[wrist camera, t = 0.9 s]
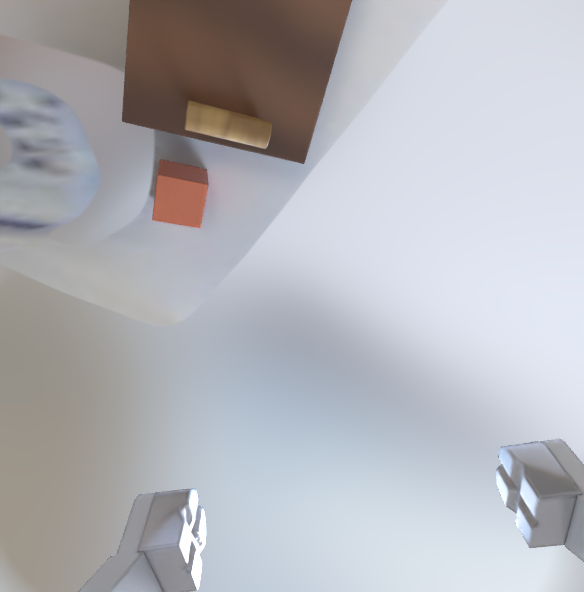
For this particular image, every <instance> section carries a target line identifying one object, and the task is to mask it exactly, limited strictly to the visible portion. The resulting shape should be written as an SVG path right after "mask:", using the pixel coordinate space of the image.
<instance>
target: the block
mask: <svg viewBox="0 0 584 592" xmlns="http://www.w3.org/2000/svg"><path fill="white" fill-rule="evenodd" d="M207 190H208V178H207V169H203V168H199V167H194V166H189V165H184V164H180V163H175V162H170V161H165V160H160V163H159V169H158V175H157V183H156V192H155V201H154V209H153V218H152V220H154V221H160V222H166V223H172V224H178V225H184V226H190V227H196V228H201V223H202V218H203V212H204V206H205V201H206V195H207Z"/></svg>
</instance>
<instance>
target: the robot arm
mask: <svg viewBox="0 0 584 592" xmlns="http://www.w3.org/2000/svg"><path fill="white" fill-rule="evenodd" d="M498 458H499V459H500V461H501V463H502V464H501V465H500V466H499V467H498V468H497V471H496V480H497V485H498V490H499V492H500V495H501V497H502V499H503V501H504V503H505V505H506V507H508V508H509V509H511V510H512V511H514V512H515V513H517V515H516V522H515V523H516V525H517V526H518V528H519V530H520V532H521V534H522V535H523V537H524V539H525V541H526V542H527V544H528V546H529V548H536V547H547V546H557V545H565V547H566V548H567V549H568V550H570V551H571V552H572V553H573V554H575V555H576V556H577V557H578V558H579V559H581V560H582V561H583V562H584V464H583V463H582V462H581V461H580V460H579V458H578V457H577V456H576V455H575V454H574V452H573V451H572V450H571V449H570V448H569V446H568V445H567V444H566V443H565V442H564V441H563V440H561V439H555V440H548V441H540V442H538V441H537V442H530V443H524V444H517V445H510V446H503V447H501V448H500V449H499V454H498ZM198 498H199V496H198V494H197V491H196V489H183V490H174V491H165V492H156V493H148V494H140V495H138V496H137V498H136V499H135V501H134V503H133V506H132V509H131V512H130V515H129V518H128V521H127V524H126V527H125V530H124V533H123V536H122V539H121V542H120V545H119V548H118V551H117V554H116V555H115V556H110V557H109V558H108V559H107V561H106V562H105V563H104V564H103V565H102V566H101V567H100V568H99V569H98V570H97V572H96V573H95V574H94V575H93V576H92V577H91V578H90V579H89V580H88V581H87V582H86V583H85V585H84V586H83V587H82V588H81V589H80V590H79V591H78V592H190V591H195V590H198V587H199V581H200V575H201V568H202V561H201V558H200V556H199V552H200V551H201V550H202V549H203V547H204V546H205V540H206V518H205V513H204V510H203V508H202V507H201V506H199V505H198Z"/></svg>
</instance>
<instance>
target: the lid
mask: <svg viewBox="0 0 584 592" xmlns="http://www.w3.org/2000/svg"><path fill="white" fill-rule="evenodd" d="M351 2H352V0H130V5H129V20H128V35H127V51H126V66H125V81H124V98H123V112H122V121H123V122H126V123H130V124H134V125H138V126H143V127H147V128H151V129H156V130H160V131H164V132H168V133H173V134H177V135H181V136H186V137H190V138H194V139H199V140H203V141H207V142H212V143H216V144H220V145H224V146H229V147H233V148H237V149H242V150H246V151H250V152H255V153H259V154H263V155H268V156H272V157H276V158H280V159H285V160H289V161H293V162H298V163H302V164H304V163H305V159H306V156H307V152H308V149H309V146H310V142H311V139H312V135H313V132H314V128H315V125H316V122H317V118H318V115H319V111H320V108H321V105H322V101H323V98H324V94H325V91H326V87H327V84H328V81H329V77H330V74H331V70H332V67H333V64H334V60H335V57H336V53H337V50H338V46H339V43H340V40H341V36H342V33H343V29H344V26H345V23H346V19H347V16H348V12H349V9H350V5H351Z"/></svg>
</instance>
